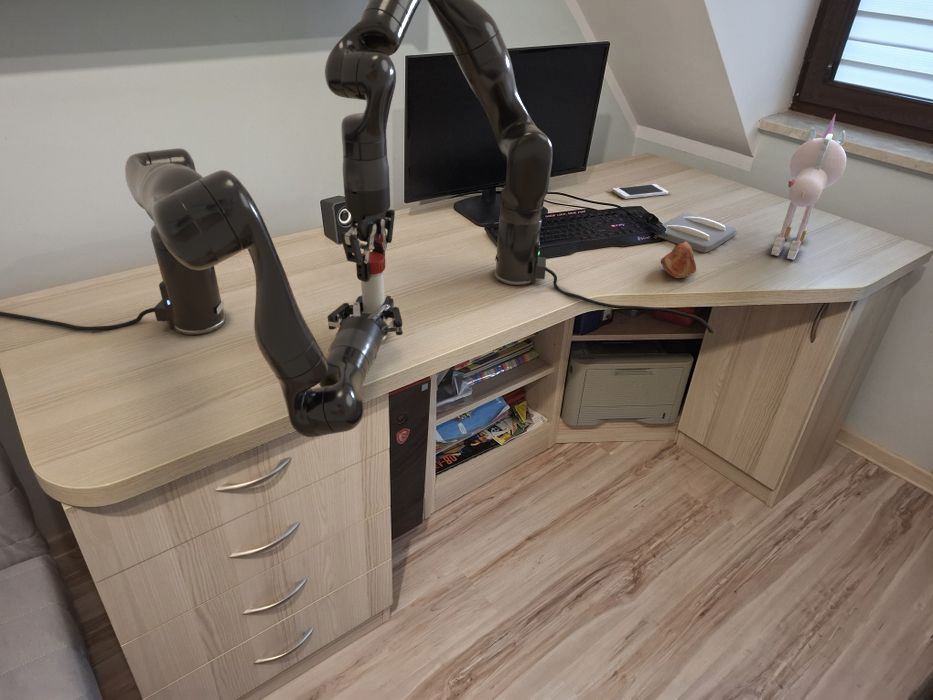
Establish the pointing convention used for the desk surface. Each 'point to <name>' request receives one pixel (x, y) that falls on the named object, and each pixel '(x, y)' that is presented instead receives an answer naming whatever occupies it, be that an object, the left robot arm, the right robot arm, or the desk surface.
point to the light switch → (697, 232)
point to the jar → (373, 294)
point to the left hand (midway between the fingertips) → (376, 299)
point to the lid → (376, 263)
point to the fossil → (680, 261)
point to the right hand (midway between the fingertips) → (371, 273)
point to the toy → (811, 180)
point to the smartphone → (640, 191)
